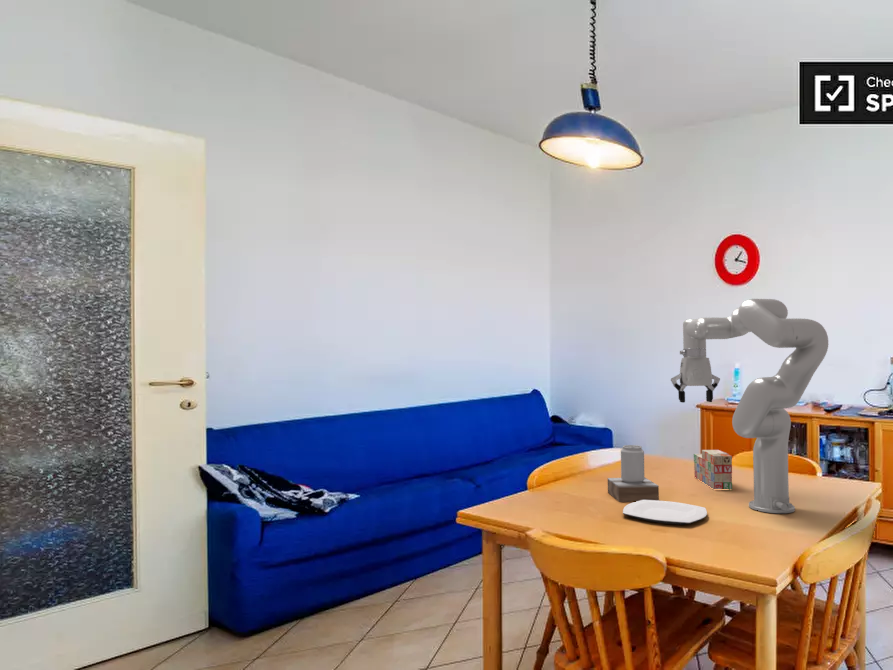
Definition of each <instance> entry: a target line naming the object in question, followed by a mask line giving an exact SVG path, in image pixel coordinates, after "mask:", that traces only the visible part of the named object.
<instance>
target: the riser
mask: <svg viewBox="0 0 893 670" xmlns="http://www.w3.org/2000/svg"><path fill="white" fill-rule="evenodd" d="M644 478H645V480H644V481H643V482H642V483H638V484H632V483H626V482H624V481H623V480H622V479H621V477H607V493H608V494H609V495H610V496H611V497H613V498H614V499H615V500H616V501H617V502H619V503H623V502H624V503H625V502H626V503H627V502H628V503H629V502H630V503H633V502H632V501H640V500H658V501H660V496H659V495H660V494H659V493H660V489H659V487H660V486H659V484H657V483H655V482H653V481H652V480H650V479H648V478H647V477H645V476H644Z"/></svg>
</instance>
